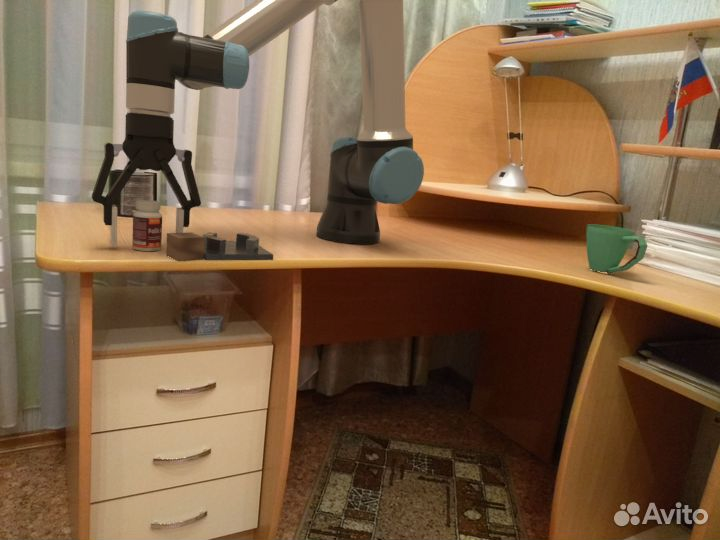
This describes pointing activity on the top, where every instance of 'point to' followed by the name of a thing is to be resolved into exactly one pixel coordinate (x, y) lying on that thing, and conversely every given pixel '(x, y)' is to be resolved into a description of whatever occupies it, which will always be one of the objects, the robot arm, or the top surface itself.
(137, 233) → the pill bottle
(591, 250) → the mug
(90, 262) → the top surface
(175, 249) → the walnut block
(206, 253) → the socket
